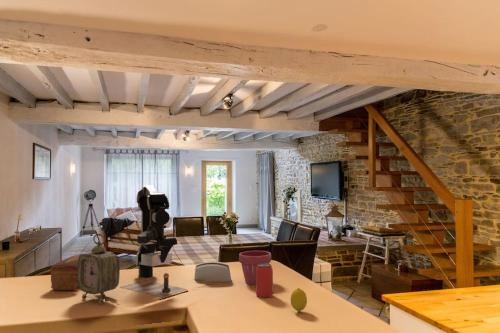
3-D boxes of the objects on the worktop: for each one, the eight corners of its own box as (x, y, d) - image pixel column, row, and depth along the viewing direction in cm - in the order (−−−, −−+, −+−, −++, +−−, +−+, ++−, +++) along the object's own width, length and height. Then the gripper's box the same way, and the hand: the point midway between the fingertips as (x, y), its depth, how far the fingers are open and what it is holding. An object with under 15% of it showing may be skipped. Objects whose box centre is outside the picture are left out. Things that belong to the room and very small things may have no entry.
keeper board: (119, 289, 156) (119, 269, 156) (146, 282, 167) (146, 264, 168) (160, 300, 141) (160, 278, 141) (187, 291, 152) (187, 271, 152)
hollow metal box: (141, 264, 151) (141, 254, 151) (160, 260, 159) (160, 251, 159) (152, 266, 147) (152, 255, 147) (171, 262, 154) (171, 252, 155)
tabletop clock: (77, 299, 142) (78, 233, 144) (98, 294, 150) (99, 231, 151) (99, 306, 134) (100, 236, 135) (121, 299, 142) (121, 233, 143)
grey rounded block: (231, 278, 173) (230, 259, 170) (230, 284, 168) (230, 265, 165) (195, 279, 173) (194, 259, 170) (193, 285, 168) (192, 265, 165)
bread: (44, 292, 153) (45, 262, 154) (80, 276, 181) (80, 250, 182) (77, 292, 152) (77, 262, 153) (108, 276, 180) (108, 250, 181)
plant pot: (234, 284, 163) (234, 254, 163) (246, 277, 176) (246, 249, 176) (265, 287, 157) (264, 256, 158) (275, 279, 170) (275, 251, 171)
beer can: (274, 294, 148) (274, 263, 148) (270, 298, 141) (270, 266, 142) (259, 292, 150) (258, 262, 150) (253, 297, 143) (253, 265, 144)
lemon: (289, 309, 129) (288, 286, 129) (305, 308, 129) (304, 285, 130) (292, 315, 123) (292, 290, 124) (308, 314, 124) (308, 289, 124)
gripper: (126, 224, 153) (126, 262, 152) (156, 225, 142) (156, 267, 141) (148, 222, 162) (148, 258, 161) (178, 223, 151) (178, 262, 150)
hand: (157, 261), depth 153 cm, fingers closed on hollow metal box, 7 cm apart
